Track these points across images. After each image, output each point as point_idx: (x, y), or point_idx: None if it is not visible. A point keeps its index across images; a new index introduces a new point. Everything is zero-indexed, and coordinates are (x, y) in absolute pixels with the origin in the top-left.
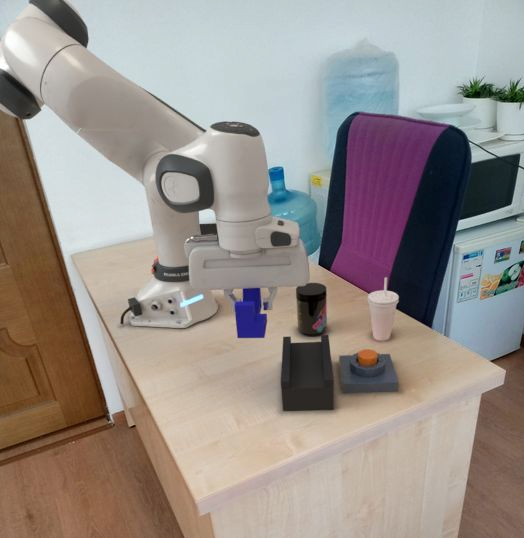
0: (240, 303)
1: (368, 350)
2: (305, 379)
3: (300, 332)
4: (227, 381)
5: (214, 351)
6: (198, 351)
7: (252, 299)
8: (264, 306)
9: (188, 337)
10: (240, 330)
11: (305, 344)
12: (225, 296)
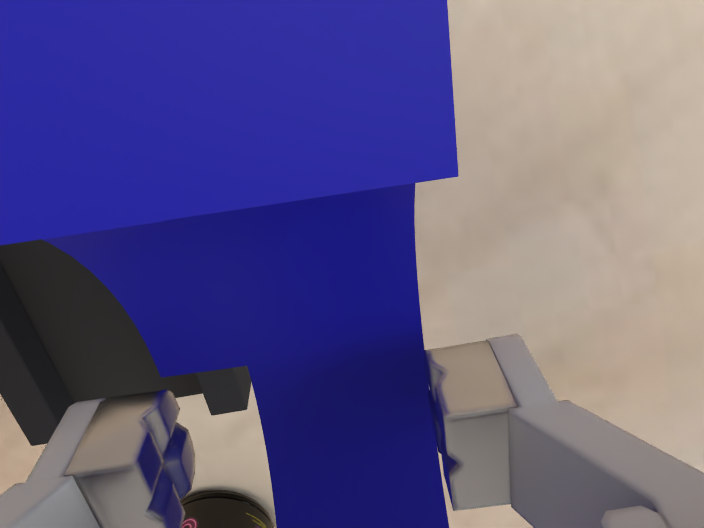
0: (291, 68)
1: None
2: None
3: (257, 505)
4: (477, 173)
5: (572, 366)
6: (638, 359)
7: None
8: (136, 420)
9: (690, 437)
10: None
11: (143, 386)
12: (692, 469)
